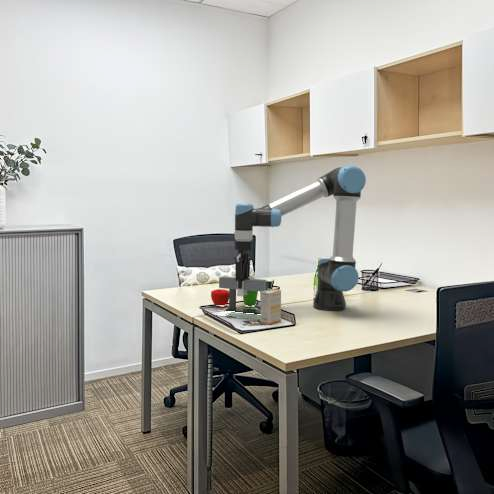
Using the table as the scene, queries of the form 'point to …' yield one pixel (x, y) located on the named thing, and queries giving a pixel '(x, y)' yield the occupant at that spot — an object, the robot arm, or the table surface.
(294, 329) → the table surface
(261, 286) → the rail
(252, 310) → the standards
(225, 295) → the apple
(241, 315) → the pad
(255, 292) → the cup
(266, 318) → the supplement box
